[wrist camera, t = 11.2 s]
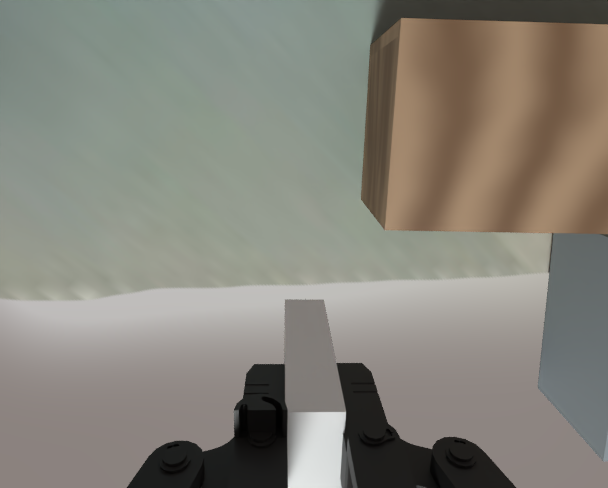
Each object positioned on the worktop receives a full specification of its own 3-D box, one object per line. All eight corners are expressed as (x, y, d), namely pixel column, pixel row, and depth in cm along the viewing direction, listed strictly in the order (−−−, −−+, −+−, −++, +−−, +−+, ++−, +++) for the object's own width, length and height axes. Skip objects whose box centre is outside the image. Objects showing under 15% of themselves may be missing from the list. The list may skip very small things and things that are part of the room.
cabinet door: (555, 216, 44) (636, 249, 34) (583, 214, 44) (673, 246, 34) (537, 387, 50) (603, 461, 39) (562, 385, 50) (634, 459, 39)
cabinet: (360, 199, 44) (384, 229, 32) (370, 45, 40) (401, 18, 28) (560, 203, 44) (653, 234, 33) (589, 51, 40) (706, 27, 29)
